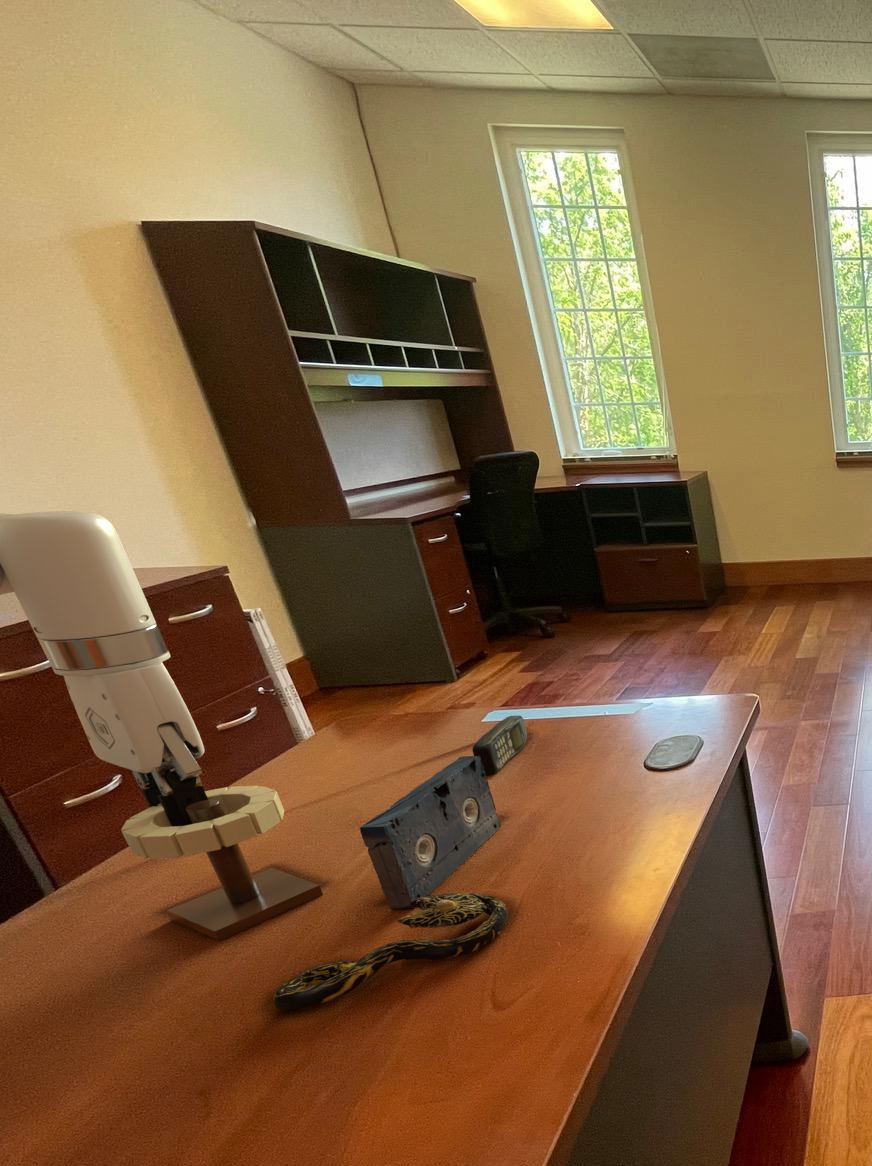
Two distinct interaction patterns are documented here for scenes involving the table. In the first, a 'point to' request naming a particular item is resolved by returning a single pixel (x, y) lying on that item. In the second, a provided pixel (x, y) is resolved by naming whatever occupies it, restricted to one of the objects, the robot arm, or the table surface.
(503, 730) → the mobile phone
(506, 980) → the table surface
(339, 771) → the table surface
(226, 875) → the post
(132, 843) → the cream segmented ring
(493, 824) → the vhs cassette tape
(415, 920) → the rubber snake
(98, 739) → the robot arm
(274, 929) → the table surface
